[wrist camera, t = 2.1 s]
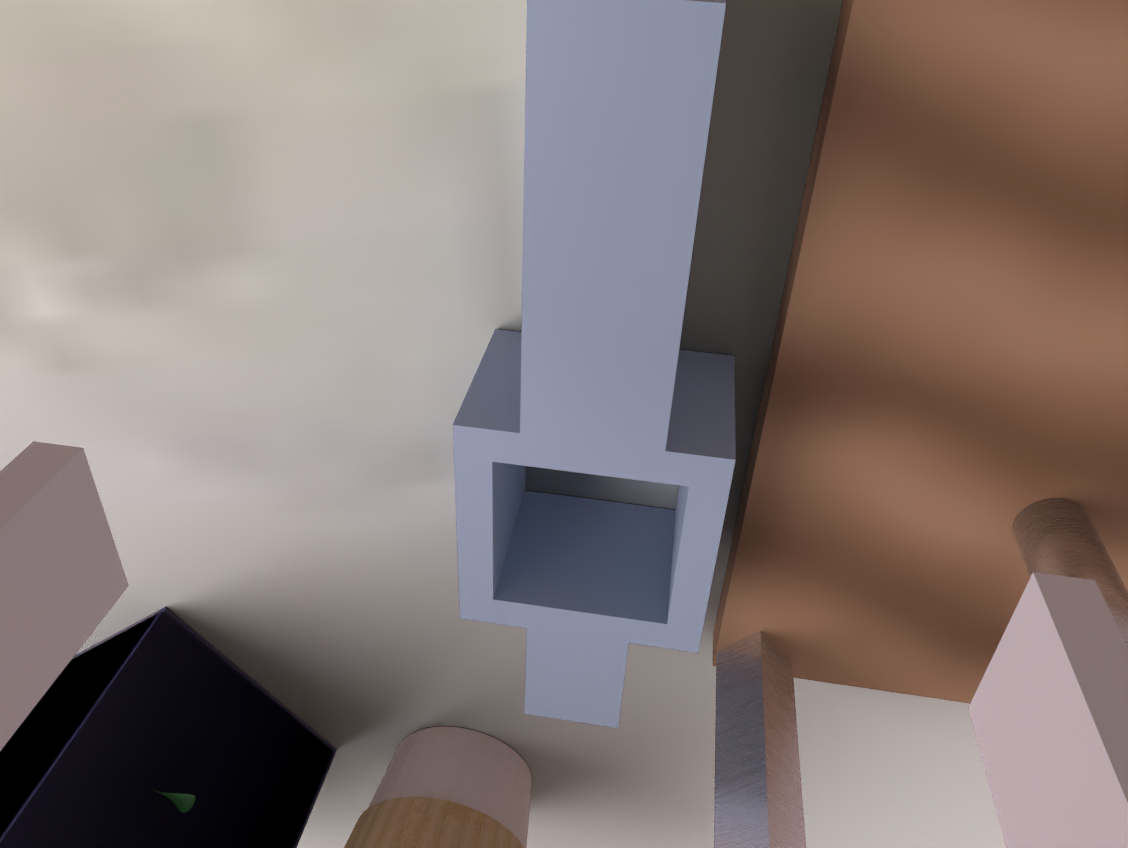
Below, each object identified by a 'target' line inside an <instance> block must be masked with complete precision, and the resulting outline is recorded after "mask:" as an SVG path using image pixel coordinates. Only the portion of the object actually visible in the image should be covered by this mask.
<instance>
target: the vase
mask: <svg viewBox="0 0 1128 848" xmlns="http://www.w3.org/2000/svg"><path fill="white" fill-rule="evenodd" d="M336 751H337V750H336V749H335V748H334V747H333V746H331V745H330V744H329V743H328V742H327V741H325V740H324V739H323V738H322V737H321V736H319V735H318V734H317V733H316V732H315V731H313V730H312V729H311V728H310V727H309V726H307V725H306V724H305V723H304V722H303V721H301V720H300V719H299V718H298V717H297V716H296V715H294V714H293V713H292V712H291V711H290V710H288V709H287V708H286V707H285V706H284V705H282V704H281V703H280V702H279V701H278V700H276V699H275V698H274V697H273V696H272V695H270V694H269V693H268V692H267V691H266V690H264V689H263V688H262V687H261V686H260V685H258V684H257V683H256V682H255V681H254V680H252V679H251V678H250V677H249V676H248V675H246V674H245V673H244V672H243V671H242V670H240V669H239V668H238V667H237V666H236V665H234V664H233V663H232V662H231V661H230V660H228V659H227V658H226V657H225V656H224V655H222V654H221V653H220V652H219V651H218V650H216V649H215V648H214V647H213V646H212V645H210V644H209V643H208V642H207V641H206V640H204V639H203V638H202V637H201V636H200V635H198V634H197V633H196V632H195V631H194V630H192V629H191V628H190V627H189V626H188V625H186V624H185V623H184V622H183V621H182V620H181V619H179V618H178V617H177V616H176V615H175V614H173V613H172V612H171V611H170V610H169V609H167V608H166V607H164V608H162V609H161V610H159V611H157V612H155V613H153V614H151V615H149V616H148V617H146V618H144V619H142V620H140V621H138V622H136V623H135V624H133V625H131V626H129V627H127V628H125V629H123V630H122V631H120V632H118V633H116V634H114V635H112V636H110V637H109V638H107V639H105V640H103V641H101V642H99V643H97V644H95V645H94V646H92V647H90V648H88V649H86V650H84V651H82V652H81V653H79V654H77V655H75V656H74V657H73V658H72V659H71V660H70V662H69V663H68V664H67V666H66V667H65V668H64V670H63V671H62V672H61V673H60V675H59V676H58V677H57V679H56V680H55V681H54V682H53V684H52V685H51V686H50V688H49V689H48V690H47V691H46V693H45V694H44V695H43V697H42V698H41V699H40V700H39V702H38V703H37V704H36V706H35V707H34V708H33V710H32V711H31V712H30V713H29V715H28V716H27V717H26V719H25V720H24V721H23V722H22V724H21V725H20V726H19V728H18V729H17V730H16V731H15V733H14V734H13V735H12V737H11V738H10V739H9V740H8V742H7V743H6V744H5V746H4V747H3V748H2V750H1V751H0V848H296V847H297V845H298V843H299V840H300V838H301V835H302V833H303V830H304V828H305V826H306V823H307V821H308V818H309V816H310V814H311V811H312V809H313V806H314V804H315V801H316V799H317V797H318V794H319V792H320V789H321V787H322V785H323V782H324V780H325V777H326V775H327V772H328V770H329V768H330V765H331V763H332V760H333V758H334V756H335V753H336Z"/></svg>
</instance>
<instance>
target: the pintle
mask: <svg viewBox="0 0 1128 848" xmlns="http://www.w3.org/2000/svg"><path fill="white" fill-rule="evenodd" d="M1012 531H1013V535H1014V538H1015V540H1016V543H1017V545H1018V548H1019V550H1020V553H1021V555H1022V558H1023V560H1024V563H1025V566H1026V568H1027V571H1028V573H1029V576H1030V577H1031V575H1032V573H1033V572H1036V573H1044V574H1051V575H1059V576H1067V577H1074V578H1082V579H1090V580H1095V581H1096V583H1097V585H1098V587H1099V589H1100V591H1101V594H1102V596H1103V598H1104V600H1105V602H1106V604H1107V606H1108V608H1109V610H1110V612H1111V614H1112V616H1113V618H1114V620H1115V622H1116V624H1117V626H1118V628H1119V631H1120V633H1121V635H1122V637H1123V639H1124V641H1125V643H1126V645H1127V647H1128V591H1127V589H1126V587H1125V585H1124V583H1123V581H1122V579H1121V577H1120V575H1119V573H1118V571H1117V569H1116V567H1115V565H1114V563H1113V561H1112V559H1111V557H1110V555H1109V553H1108V551H1107V549H1106V548H1105V546H1104V544H1103V542H1102V540H1101V538H1100V536H1099V534H1098V532H1097V530H1096V528H1095V526H1094V524H1093V522H1092V520H1091V518H1090V516H1089V514H1088V512H1087V511H1086V509H1085V508H1084V507H1083V506H1082V505H1081V504H1079V503H1077V502H1075V501H1073V500H1070V499H1065V498H1048V499H1043V500H1040V501H1037V502H1034V503H1032V504H1030V505H1028V506H1027V507H1025V508H1024V509H1023V510H1022V511H1021V512H1020V513H1019V514H1018V515H1017V516H1016V518H1015V520H1014V522H1013V526H1012Z"/></svg>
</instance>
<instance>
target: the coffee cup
mask: <svg viewBox="0 0 1128 848" xmlns="http://www.w3.org/2000/svg"><path fill="white" fill-rule="evenodd" d="M531 784H532V777H531V773H530V770H529V768H528V766H527V764H526V763H525V761H524V760H523V759H522V758H521V757H520V755H519V754H518V753H517V752H515V751H514V750H513V749H512V748H510V747H509V746H508V745H506V744H504V743H503V742H501V741H499V740H498V739H496V738H493V737H491V736H489V735H486V734H484V733H481V732H477V731H474V730H471V729H465V728H459V727H446V726H442V727H430V728H426V729H422V730H419V731H416V732H414V733H412V734H410V735H409V736H407V737H406V738H405V739H404V740H403V741H402V742H401V743H400V745H399V746H398V748H397V750H396V752H395V754H394V756H393V758H392V760H391V762H390V764H389V766H388V769H387V771H386V773H385V775H384V777H383V779H382V781H381V783H380V785H379V787H378V789H377V791H376V793H375V795H374V797H373V799H372V801H371V803H370V805H369V807H368V809H367V810H366V811H364V812H363V814H362V815H361V816H360V818H359V819H358V821H357V823H356V825H355V827H354V829H353V831H352V833H351V835H350V837H349V839H348V841H347V843H346V845H345V847H344V848H526V847H527V834H528V822H529V809H530V796H531Z"/></svg>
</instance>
